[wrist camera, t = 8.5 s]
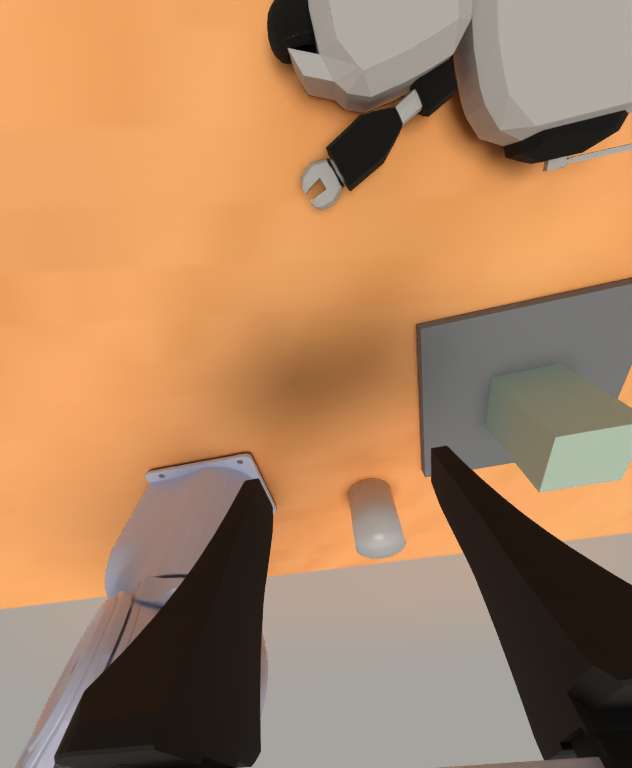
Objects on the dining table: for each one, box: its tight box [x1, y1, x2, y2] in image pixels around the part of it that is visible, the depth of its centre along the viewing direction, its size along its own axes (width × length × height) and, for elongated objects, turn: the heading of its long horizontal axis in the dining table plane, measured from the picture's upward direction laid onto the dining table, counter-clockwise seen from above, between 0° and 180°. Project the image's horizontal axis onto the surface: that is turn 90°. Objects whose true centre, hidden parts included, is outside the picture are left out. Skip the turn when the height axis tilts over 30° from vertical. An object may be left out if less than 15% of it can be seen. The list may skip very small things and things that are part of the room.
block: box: [486, 364, 632, 492], centre depth 18 cm, size 4×4×6 cm
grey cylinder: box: [348, 478, 406, 559], centre depth 25 cm, size 4×4×5 cm
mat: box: [417, 278, 632, 477], centre depth 21 cm, size 14×14×1 cm
